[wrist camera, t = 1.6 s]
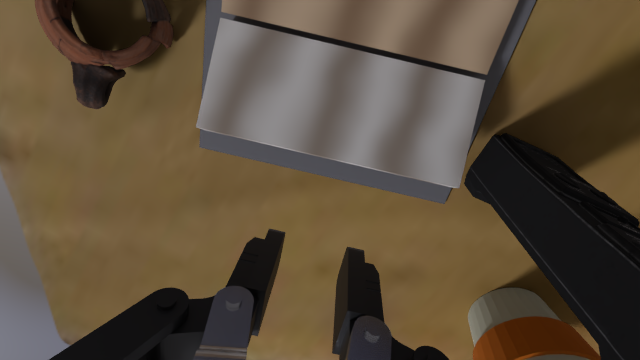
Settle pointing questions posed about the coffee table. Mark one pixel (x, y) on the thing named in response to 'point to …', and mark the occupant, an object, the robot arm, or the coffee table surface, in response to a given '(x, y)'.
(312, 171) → the underlay mat
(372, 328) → the robot arm
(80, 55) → the pottery mug
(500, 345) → the reusable coffee cup
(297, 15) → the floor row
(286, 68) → the plank
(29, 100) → the coffee table surface
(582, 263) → the portable radio
